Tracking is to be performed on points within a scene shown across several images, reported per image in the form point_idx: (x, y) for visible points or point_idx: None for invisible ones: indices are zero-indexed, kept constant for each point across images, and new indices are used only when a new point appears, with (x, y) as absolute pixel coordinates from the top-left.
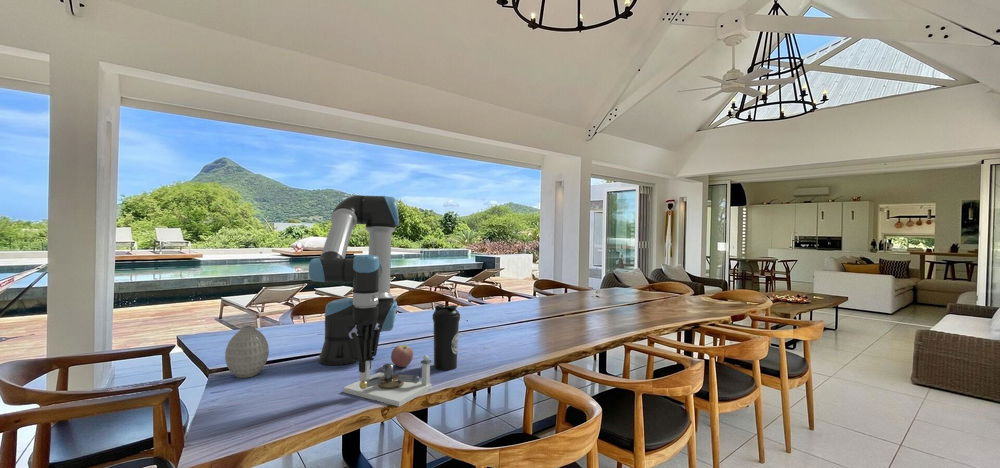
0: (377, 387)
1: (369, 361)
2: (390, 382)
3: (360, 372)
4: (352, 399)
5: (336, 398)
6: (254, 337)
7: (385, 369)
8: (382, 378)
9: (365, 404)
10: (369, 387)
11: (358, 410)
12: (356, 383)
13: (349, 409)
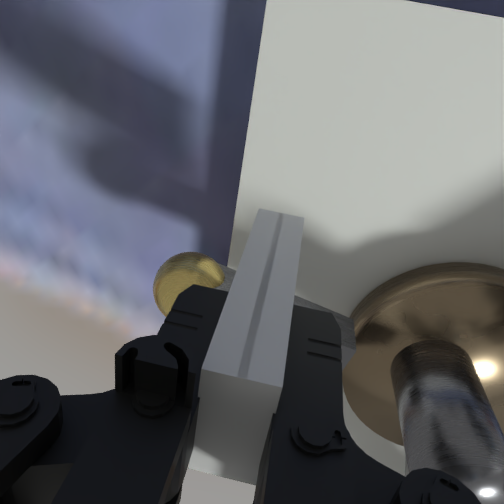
0: (361, 283)
1: (249, 474)
2: (375, 400)
3: (239, 265)
4: (177, 164)
5: (134, 20)
6: None
7: (411, 450)
8: (459, 315)
9: (151, 286)
10: (342, 227)
11: (68, 289)
12: (414, 45)
13: (49, 237)
